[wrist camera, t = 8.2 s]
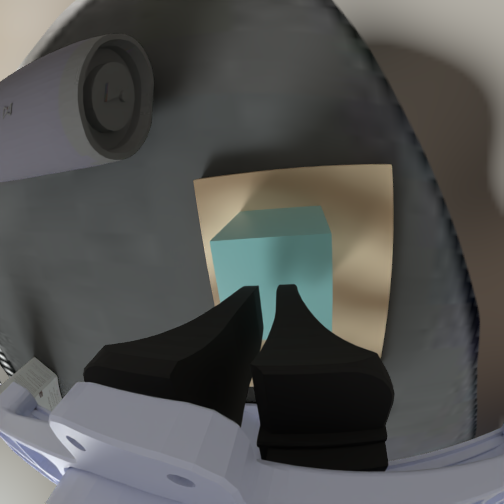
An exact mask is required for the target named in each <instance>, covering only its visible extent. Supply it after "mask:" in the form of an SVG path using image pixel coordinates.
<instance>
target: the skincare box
mask: <svg viewBox="0 0 504 504" xmlns="http://www.w3.org/2000/svg"><path fill="white" fill-rule="evenodd" d="M12 382H16V383H17V384H19V385H21V386H23V387H25V388H26V389H27V390H28V391H29V392H30V393H31V394H32V395H33V397H34V398H35V400H36V401H37V404H38V405H40V406H42V407H44V408H45V409H47V410H49V411H51V412H52V411H53V410H54V408H55V407H56V406H57V405H58V404H59V402H60V401H61V400H62V397H61V394H60V390H59V385H58V377H57V375H56V374H55V373H54V372H52V371H51V370H50V369H49V368H47V367H46V366H45V365H44V364H43V363H41V362H40V361H39V360H38V359H37V358H36V357H34V358H32V359H31V360H30V361H29V362H28V363H26V364H25V365H24V366H23V367H22V368H21V369H19V370H18V371H17V372H16V373H15V374H14V375H13V376H11V377H10V378H9V379H8V380H7V381H6V382H4V383H3V384H2V385H1V386H0V394H1V393H2V392H3V391H4V390H5V389H6V388H7V387H8V386H9V385H10V384H11V383H12Z"/></svg>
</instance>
